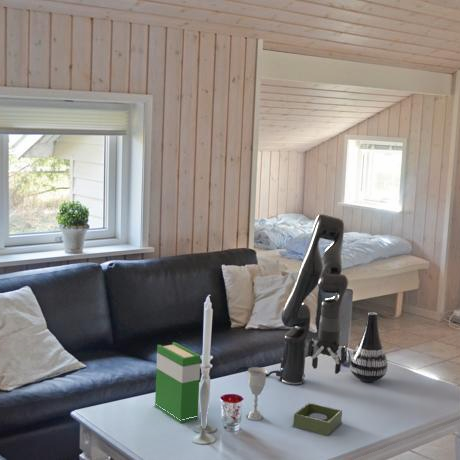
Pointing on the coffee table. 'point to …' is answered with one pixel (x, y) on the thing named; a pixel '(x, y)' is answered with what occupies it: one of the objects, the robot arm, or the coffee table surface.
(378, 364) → the vase
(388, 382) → the coffee table surface
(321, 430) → the tub
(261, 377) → the chalice
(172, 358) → the hardback book
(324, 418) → the blue round puck
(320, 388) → the coffee table surface
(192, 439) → the coffee table surface
